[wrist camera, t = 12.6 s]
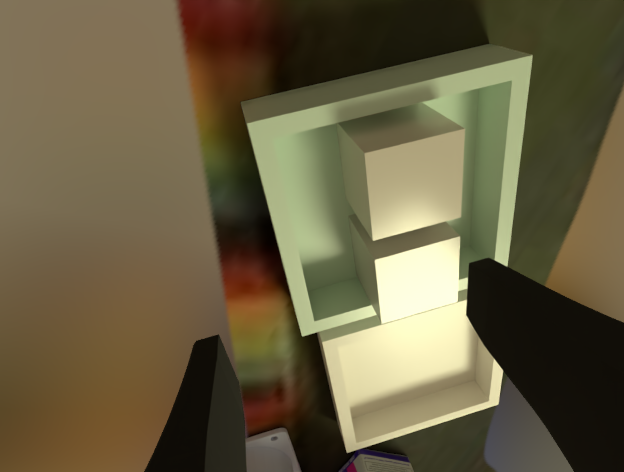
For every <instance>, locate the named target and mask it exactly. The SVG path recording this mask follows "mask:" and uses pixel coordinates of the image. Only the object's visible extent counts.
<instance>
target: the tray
mask: <svg viewBox="0 0 624 472" xmlns="http://www.w3.org/2000/svg"><path fill="white" fill-rule="evenodd" d="M466 305H467V289H464V290H460V291H458V302H455V303H452V304H448V305H445V306H441V307H438V308H435V309H431V310H428V311H425V312H421V313H418V314H414V315H411V316H408V317H404V318H401V319H397V320H394V321H391V322H387V323H384V324H381V322H380V320H379V318H378V316H377V315H375V316H371V317H368V318H364V319H361V320H357V321H354V322H351V323H347V324H344V325H340V326H337V327H333V328H330V329H327V330H323V331H320V332H317V335H318V340H319V344H320V349H321V353H322V357H323V362H324V366H325V370H326V375H327V379H328V384H329V388H330V392H331V397H332V401H333V405H334V410H335V414H336V419H337V423H338V426H339V429H340V432H341V436H342V439H343V442H344V445H345V449H346V452H347V453H349V452H352V451H355V450H358V449H361V448H364V447H368V446H371V445H374V444H377V443H380V442H383V441H386V440H389V439H392V438H395V437H399V436H402V435H405V434H408V433H411V432H414V431H417V430H420V429H423V428H427V427H430V426H433V425H436V424H439V423H442V422H445V421H448V420H451V419H455V418H458V417H461V416H464V415H467V414H470V413H473V412H476V411H479V410H483V409H486V408H489V407H492V406H495V405H498V403H499V396H500V389H501V381H502V374H503V370H502V368H501V367H500V366H499V364H498V363H497V362H496V361H495V359H494V358H493V357H492V355H491V354H490V353H489V351H488V350H487V349H486V347H485V346H484V345H483V343H482V341H481V340H480V338H479V336H478V335H477V333H476V331H475V330H474V328H473V326H472V324H471V323H470V321H469V319H468V317H467V316H466Z"/></svg>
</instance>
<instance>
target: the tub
mask: <svg viewBox="0 0 624 472" xmlns="http://www.w3.org/2000/svg"><path fill="white" fill-rule="evenodd" d="M532 57H533V55H530V54H526V53H523V52H519V51H515V50H512V49H508V48H504V47H501V46H497V45H493V44H486V45H482V46H478V47H473V48H469V49H465V50H461V51H456V52H452V53H448V54H443V55H439V56H435V57H431V58H426V59H422V60H418V61H414V62H409V63H405V64H401V65H396V66H392V67H388V68H384V69H379V70H375V71H371V72H367V73H362V74H358V75H354V76H349V77H345V78H341V79H337V80H332V81H328V82H324V83H320V84H315V85H311V86H307V87H302V88H298V89H294V90H290V91H285V92H281V93H277V94H273V95H268V96H264V97H260V98H255V99H251V100H247V101H243V102H240V103H241V107H242V111H243V115H244V118H245V122H246V126H247V130H248V134H249V138H250V141H251V145H252V149H253V153H254V157H255V161H256V165H257V168H258V172H259V176H260V180H261V184H262V188H263V191H264V195H265V199H266V203H267V207H268V211H269V214H270V218H271V222H272V226H273V230H274V234H275V238H276V241H277V245H278V249H279V253H280V257H281V261H282V264H283V268H284V272H285V276H286V280H287V284H288V287H289V291H290V295H291V299H292V303H293V306H294V310H295V313H296V317H297V320H298V324H299V327H300V331H301V334H302V337H303V336H306V335H309V334H313V333H316V332H320V331H323V330H327V329H330V328H333V327H337V326H340V325H344V324H347V323H351V322H354V321H357V320H361V319H364V318H368V317H371V316H375V315H377V314H376V312H375V310H374V308H373V307H372V305H371V303H370V301H369V299H368V297H367V295H366V293H365V291H364V289H363V287H362V285H361V283H360V281H359V279H358V277H357V275H356V269H355V262H354V255H353V248H352V241H351V234H350V226H349V219H348V216H349V215H352V214H355V212H354V211H353V209H352V207H351V206H350V204H349V203H348V201H347V200H346V197H345V190H344V182H343V174H342V167H341V159H340V151H339V144H338V136H337V128H336V123H339V122H343V121H347V120H351V119H355V118H359V117H364V116H368V115H372V114H376V113H380V112H384V111H388V110H392V109H396V108H400V107H404V106H409V105H413V104H417V103H421V102H422V103H424V104H425V105H427V106H429V107H430V108H432V109H434V110H435V111H437V112H439V113H440V114H442V115H443V116H445V117H447V118H448V119H450V120H452V121H453V122H455V123H457V124H458V125H460V126H461V127H463V128H465V139H464V161H463V183H462V205H461V217H460V218H457V219H453V220H449V221H446V222H447V223H448V224H449V225H450V226H451V227H452V228H453V229H454V230H455V231H456V232H457V233H458V234H459V236H460V255H459V283H458V291H460V290H464V289H467V287H468V269H469V263H471V262H474V261H478V260H481V259H485V258H488V257H489V258H491V259H493V260H495V261H497V262H499V263H501V264H503V265H505V266H507V265H508V257H509V248H510V240H511V232H512V223H513V215H514V207H515V198H516V190H517V182H518V173H519V165H520V157H521V148H522V140H523V132H524V123H525V115H526V107H527V98H528V90H529V82H530V73H531V65H532Z"/></svg>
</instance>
